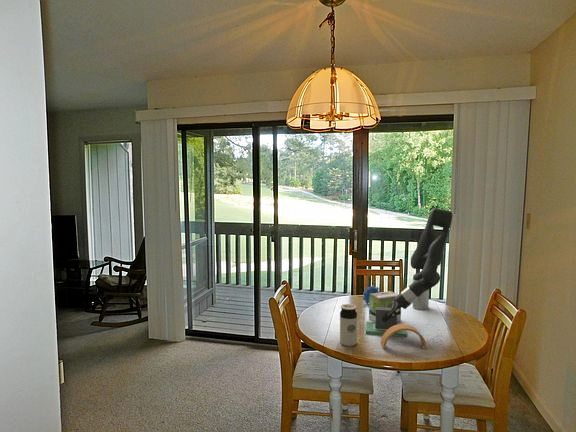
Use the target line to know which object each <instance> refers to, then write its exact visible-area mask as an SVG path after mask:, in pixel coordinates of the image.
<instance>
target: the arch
mask: <svg viewBox="0 0 576 432" xmlns="http://www.w3.org/2000/svg"><path fill="white" fill-rule="evenodd" d="M397 324H398V325H394V326H392V327H390V328H389V329H388V330H387V331H386V332H385V333H384V335H381V336H382V337H381V339H380V345H381V347H382V349H383V350H385V349H386V346H387V343H388V341H389V339H390V338H391V337H392V336H391V335H393V334H394V333H396V332H398V331H402V330H406V331H407V332H408V331H409V332H413V333H414V334H416V335H417V336H418V337H419V339H420V345H421V346H422V347H423V349H424V350H428V344H427V342H426V339H425V338H424V336H423V335H422V334H421V332H420V331H419V330H418V329H417V328H415V327H414V326H412V325H410V324H406V323H397Z"/></svg>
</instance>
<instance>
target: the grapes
mask: <svg viewBox="0 0 576 432" xmlns="http://www.w3.org/2000/svg"><path fill="white" fill-rule="evenodd" d="M379 289H380V288H379V287H378V286H376V285H374V284H372V285H371V286H367V287H366V290H364V291H363V293H362V294H363V297H362V300H363V301H364V302H365V304H368V305H369V297H370V294H372V293H380V292H381V291H379Z"/></svg>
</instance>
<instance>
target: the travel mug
mask: <svg viewBox="0 0 576 432" xmlns="http://www.w3.org/2000/svg"><path fill="white" fill-rule="evenodd" d="M340 308H341V311H340V312H339V313H340V314H339V343H340V344H341V345H343V346H346V347H352V346H355V345H357V344H358V343H357V342H358V338H357V337H358V312H357V310H356V309H357V306H356V305H355V304H351V303H345V304H342V305H340Z"/></svg>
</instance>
